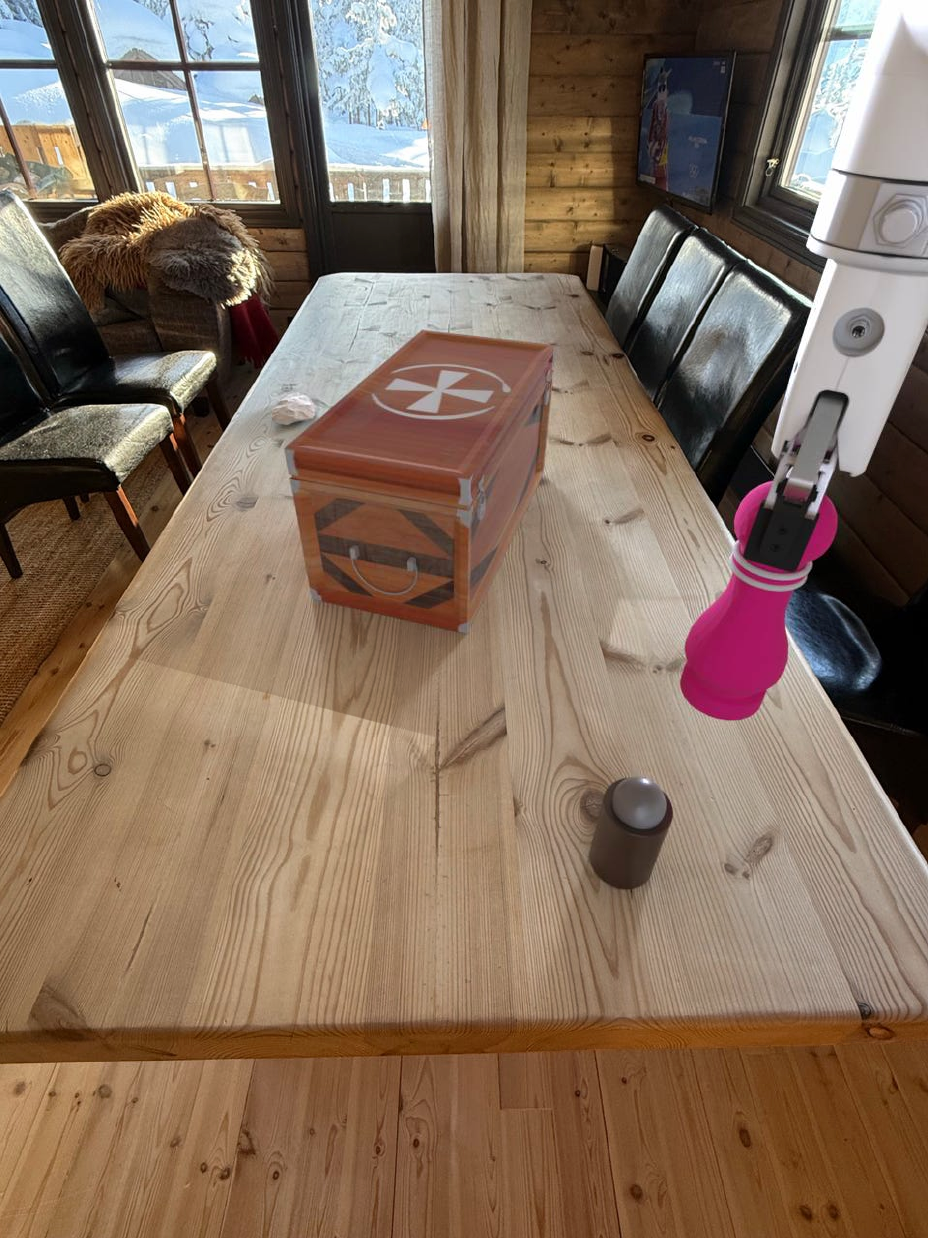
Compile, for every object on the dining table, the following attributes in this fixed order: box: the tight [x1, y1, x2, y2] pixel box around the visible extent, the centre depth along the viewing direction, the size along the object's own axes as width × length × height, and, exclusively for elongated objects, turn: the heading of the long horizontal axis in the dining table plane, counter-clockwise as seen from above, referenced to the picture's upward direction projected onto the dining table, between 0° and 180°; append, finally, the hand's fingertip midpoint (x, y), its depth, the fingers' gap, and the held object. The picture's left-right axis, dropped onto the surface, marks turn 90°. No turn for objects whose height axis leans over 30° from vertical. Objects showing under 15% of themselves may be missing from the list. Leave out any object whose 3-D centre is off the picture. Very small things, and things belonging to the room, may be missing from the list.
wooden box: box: [283, 329, 557, 635], centre depth 86 cm, size 20×41×20 cm, turn 162°
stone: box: [270, 392, 317, 426], centre depth 121 cm, size 8×14×2 cm, turn 5°
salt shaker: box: [589, 775, 674, 891], centre depth 52 cm, size 5×5×10 cm
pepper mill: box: [679, 467, 838, 722], centre depth 46 cm, size 7×7×20 cm
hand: (779, 534), depth 43 cm, fingers closed on pepper mill, 6 cm apart
